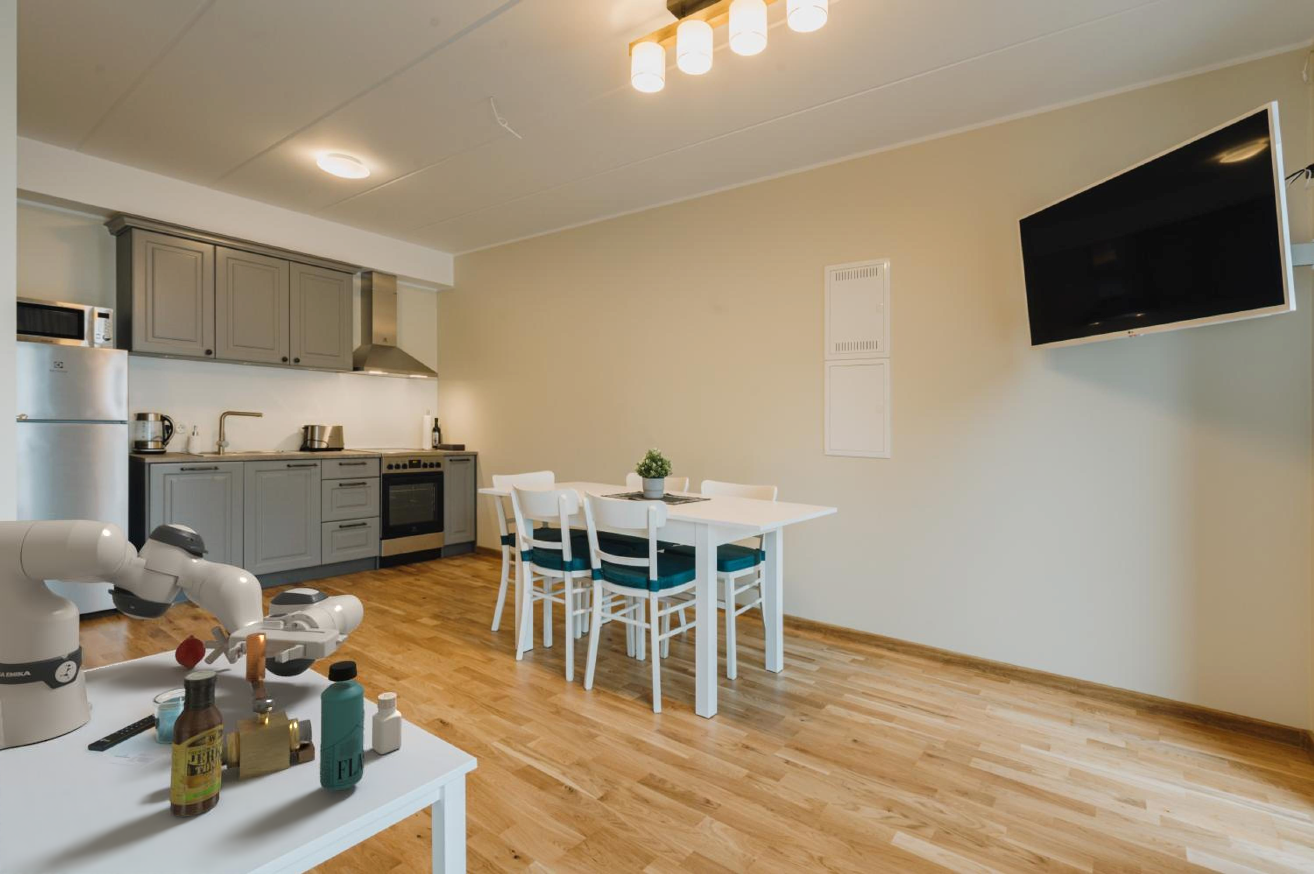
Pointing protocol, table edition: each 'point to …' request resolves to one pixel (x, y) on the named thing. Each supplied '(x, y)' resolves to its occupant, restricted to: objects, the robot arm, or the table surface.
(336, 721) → the beverage bottle
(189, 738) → the sauce bottle
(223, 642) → the pipe connector
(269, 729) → the ball valve
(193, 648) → the onion
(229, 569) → the robot arm
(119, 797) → the table surface
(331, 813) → the table surface
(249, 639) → the crank handle
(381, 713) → the pepper shaker
